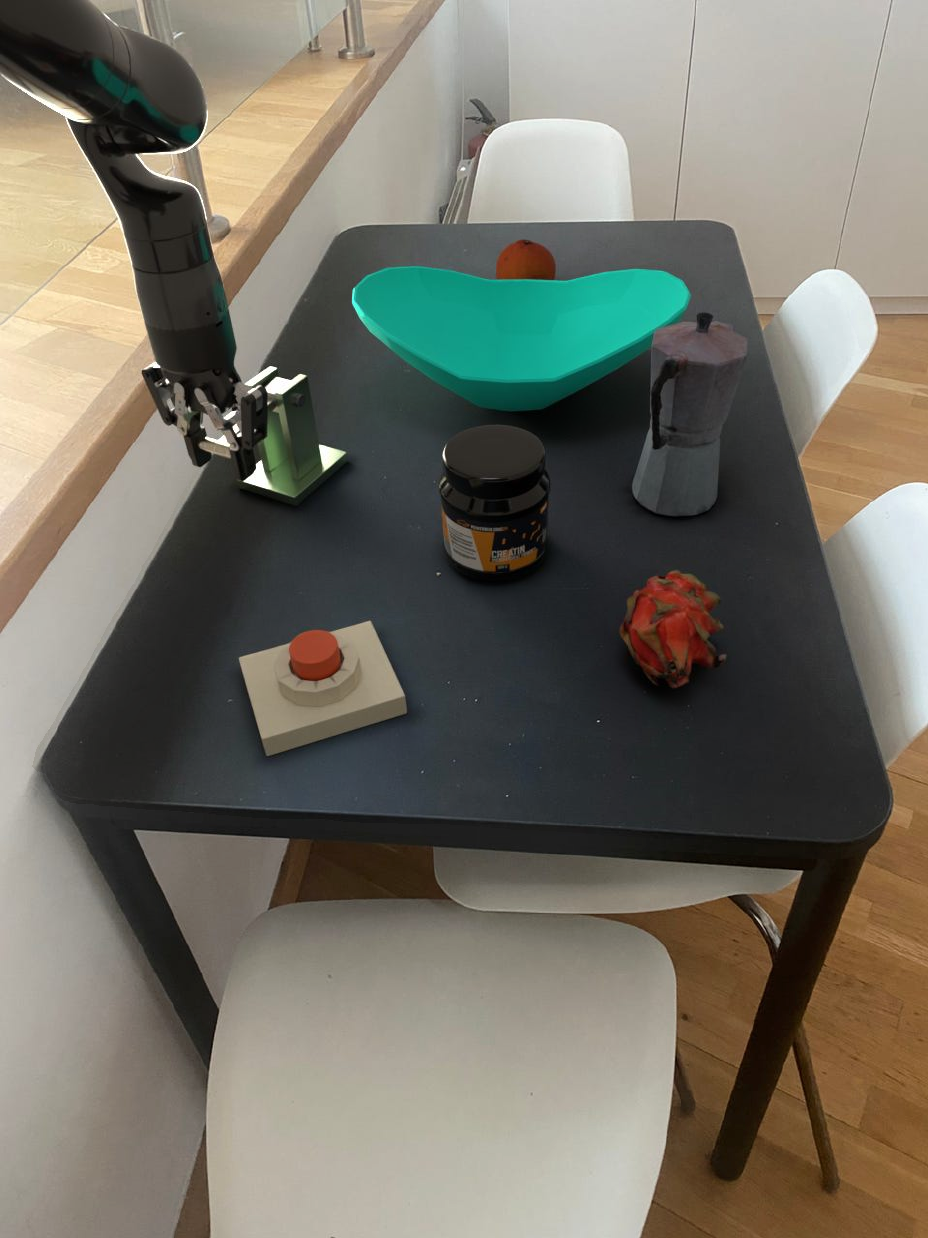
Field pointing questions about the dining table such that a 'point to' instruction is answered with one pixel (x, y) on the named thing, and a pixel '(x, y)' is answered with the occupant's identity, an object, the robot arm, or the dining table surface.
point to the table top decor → (517, 328)
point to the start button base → (322, 692)
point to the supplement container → (494, 502)
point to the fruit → (525, 262)
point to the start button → (315, 655)
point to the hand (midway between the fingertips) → (224, 469)
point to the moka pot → (688, 414)
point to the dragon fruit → (672, 627)
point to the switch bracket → (291, 446)
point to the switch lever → (222, 445)
